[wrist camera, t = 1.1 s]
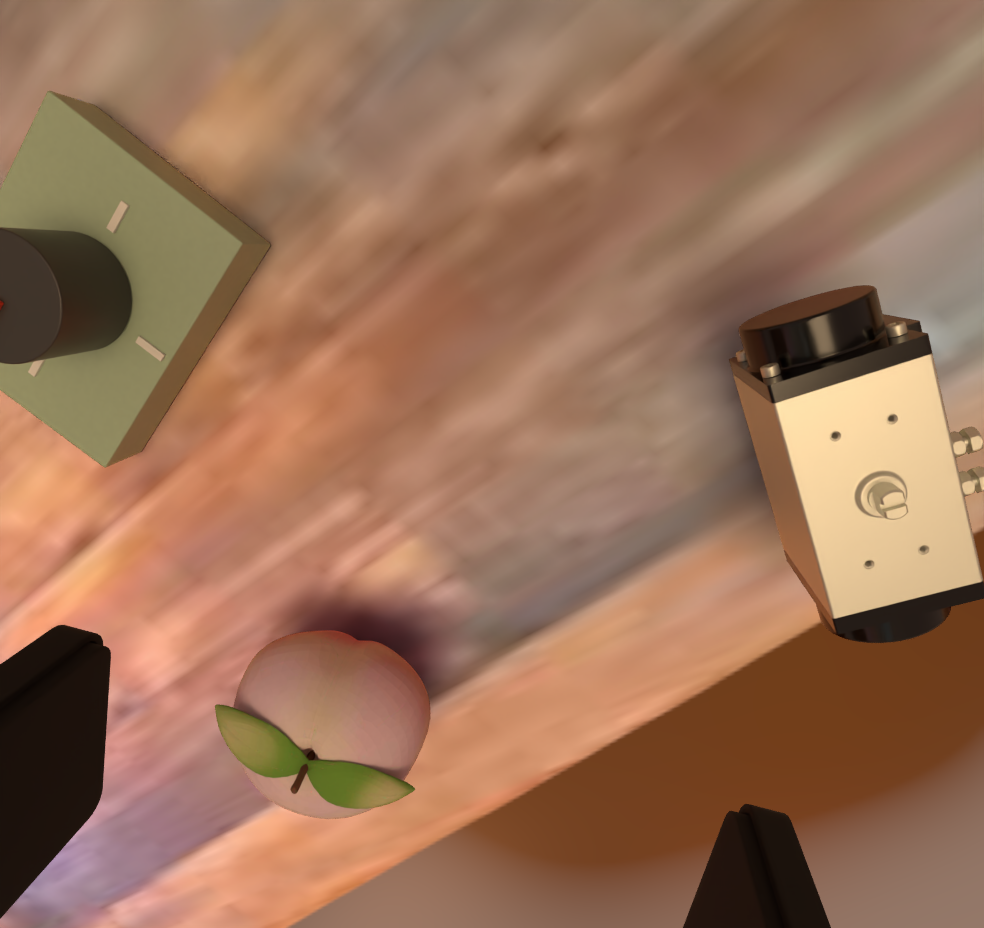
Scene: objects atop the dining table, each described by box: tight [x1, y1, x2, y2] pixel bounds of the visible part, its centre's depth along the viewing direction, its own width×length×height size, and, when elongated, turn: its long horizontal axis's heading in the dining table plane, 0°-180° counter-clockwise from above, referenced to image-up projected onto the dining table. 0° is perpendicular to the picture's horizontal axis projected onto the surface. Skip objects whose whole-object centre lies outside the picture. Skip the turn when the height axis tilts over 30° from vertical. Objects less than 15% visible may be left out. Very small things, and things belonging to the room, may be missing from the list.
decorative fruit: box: [215, 630, 430, 819], centre depth 34 cm, size 9×8×10 cm
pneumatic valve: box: [729, 285, 984, 643], centre depth 27 cm, size 6×12×12 cm, turn 20°
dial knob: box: [0, 227, 132, 364], centre depth 30 cm, size 5×5×5 cm
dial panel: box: [0, 91, 271, 467], centre depth 33 cm, size 13×10×3 cm
